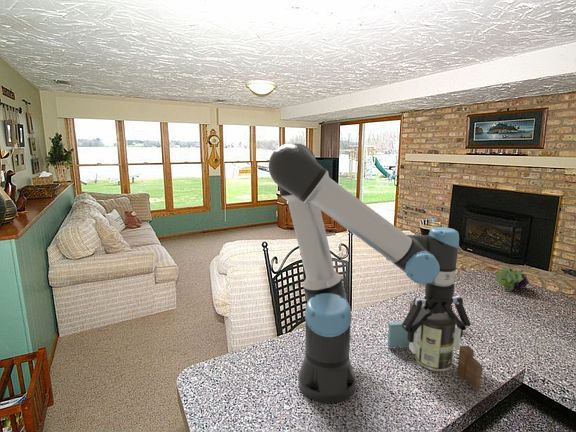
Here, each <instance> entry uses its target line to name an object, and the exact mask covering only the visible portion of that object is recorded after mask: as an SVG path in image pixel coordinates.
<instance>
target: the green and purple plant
mask: <svg viewBox="0 0 576 432" xmlns="http://www.w3.org/2000/svg"><path fill="white" fill-rule="evenodd" d="M495 281H496V282H497V283H499V284H500V285H502V286H503V287H505V288H506V290H507V292H511V291H512V292H516V291H517V290H519V291H521V290H522V289H523V288H526V286H527V285H528V284H529V283H530V282H529V280H528V278H527V276H525V275H524V274H523V271H518V270H513V269H512V268H511V267H503V268H502V269H501V270H500V271H499V272H495Z"/></svg>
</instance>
